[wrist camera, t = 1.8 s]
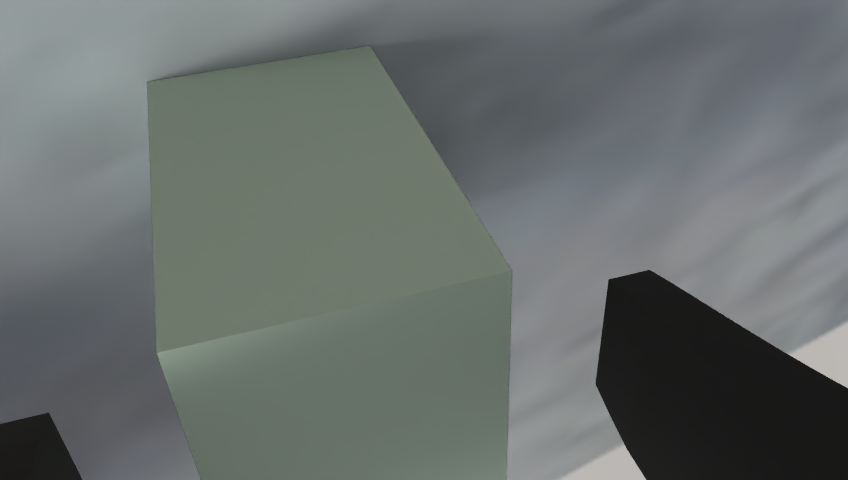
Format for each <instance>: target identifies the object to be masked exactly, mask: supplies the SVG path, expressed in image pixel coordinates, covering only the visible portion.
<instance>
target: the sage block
mask: <svg viewBox="0 0 848 480" xmlns="http://www.w3.org/2000/svg"><path fill="white" fill-rule="evenodd" d="M147 97H148V126H149V155H150V183H151V212H152V241H153V269H154V298H155V327H156V353H157V356H158V359H159V362H160V365H161V368H162V370H163V373H164V376H165V379H166V382H167V385H168V387H169V390H170V393H171V396H172V399H173V402H174V404H175V407H176V410H177V413H178V416H179V419H180V422H181V424H182V427H183V430H184V433H185V436H186V439H187V441H188V444H189V447H190V450H191V453H192V456H193V458H194V461H195V464H196V467H197V470H198V473H199V475H200V478H201V480H506V478H507V443H508V407H509V371H510V336H511V300H512V269H511V268H510V266H509V265H508V263H507V261H506V260H505V258H504V257H503V255H502V254H501V252H500V250H499V249H498V247H497V246H496V244H495V242H494V241H493V239H492V238H491V236H490V235H489V233H488V231H487V230H486V228H485V227H484V225H483V223H482V222H481V220H480V219H479V217H478V216H477V214H476V212H475V211H474V209H473V208H472V206H471V205H470V203H469V201H468V200H467V198H466V197H465V195H464V193H463V192H462V190H461V189H460V187H459V186H458V184H457V182H456V181H455V179H454V178H453V176H452V175H451V173H450V171H449V170H448V168H447V167H446V165H445V163H444V162H443V160H442V159H441V157H440V156H439V154H438V152H437V151H436V149H435V148H434V146H433V145H432V143H431V141H430V140H429V138H428V137H427V135H426V133H425V132H424V130H423V129H422V127H421V126H420V124H419V122H418V121H417V119H416V118H415V116H414V115H413V113H412V111H411V110H410V108H409V107H408V105H407V103H406V102H405V100H404V99H403V97H402V96H401V94H400V92H399V91H398V89H397V88H396V86H395V84H394V83H393V81H392V80H391V78H390V77H389V75H388V73H387V72H386V70H385V69H384V67H383V66H382V64H381V62H380V61H379V59H378V58H377V56H376V54H375V53H374V51H373V50H372V48H371V47H370V46H364V47H358V48H352V49H345V50H339V51H333V52H327V53H321V54H315V55H309V56H302V57H296V58H290V59H284V60H278V61H272V62H266V63H259V64H253V65H247V66H241V67H235V68H229V69H223V70H216V71H210V72H204V73H198V74H192V75H186V76H179V77H173V78H167V79H161V80H155V81H149V82H147Z"/></svg>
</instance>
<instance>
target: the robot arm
mask: <svg viewBox="0 0 848 480" xmlns="http://www.w3.org/2000/svg"><path fill="white" fill-rule="evenodd" d="M596 386H597V388H598V390H599V392H600V394H601V397H602V399H603V401H604V403H605V405H606V407H607V409H608V412H609V414H610V416H611V418H612V420H613V422H614V424H615V426H616V428H617V430H618V432H619V434H620V436H621V438H622V440H623V442H624V444H625V446H626V448H627V450H628V451H629V453H630V455H631V456H632V458H633V459H634V461H635V462H636V464H637V466H638V467H639V469H640V470H641V472H642V473H643V475H644V477H645V478H646V480H848V388H846V387H844V386H842V385H841V384H839V383H837V382H835V381H833V380H831V379H830V378H828V377H826V376H824V375H823V374H821V373H819V372H817V371H816V370H814V369H812V368H810V367H808V366H807V365H805V364H803V363H802V362H800V361H798V360H796V359H795V358H793V357H791V356H790V355H788V354H786V353H785V352H783V351H781V350H780V349H778V348H776V347H775V346H773V345H771V344H769V343H768V342H766V341H765V340H763V339H761V338H760V337H758V336H756V335H755V334H753V333H751V332H750V331H748V330H746V329H745V328H743V327H742V326H740V325H738V324H737V323H735V322H734V321H732V320H730V319H729V318H727V317H725V316H724V315H722V314H721V313H719V312H717V311H716V310H714V309H713V308H711V307H709V306H708V305H706V304H705V303H703V302H701V301H700V300H698V299H697V298H695V297H693V296H692V295H690V294H689V293H687V292H685V291H684V290H682V289H680V288H679V287H677V286H676V285H674V284H672V283H671V282H669V281H667V280H666V279H664V278H662V277H661V276H659V275H657V274H655V273H654V272H652V271H650V270H647V271H643V272H639V273H634V274H630V275H626V276H622V277H618V278H613V279H609V281H608V289H607V297H606V305H605V313H604V321H603V329H602V337H601V345H600V353H599V361H598V369H597V377H596ZM0 480H82V478H81V476H80V474H79V472H78V470H77V468H76V466H75V464H74V462H73V460H72V458H71V456H70V454H69V452H68V450H67V448H66V446H65V444H64V442H63V440H62V438H61V436H60V434H59V432H58V430H57V428H56V426H55V424H54V422H53V420H52V418H51V416H50V414H49V413H45V414H41V415H37V416H33V417H29V418H24V419H20V420H16V421H12V422H8V423H3V424H0Z"/></svg>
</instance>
